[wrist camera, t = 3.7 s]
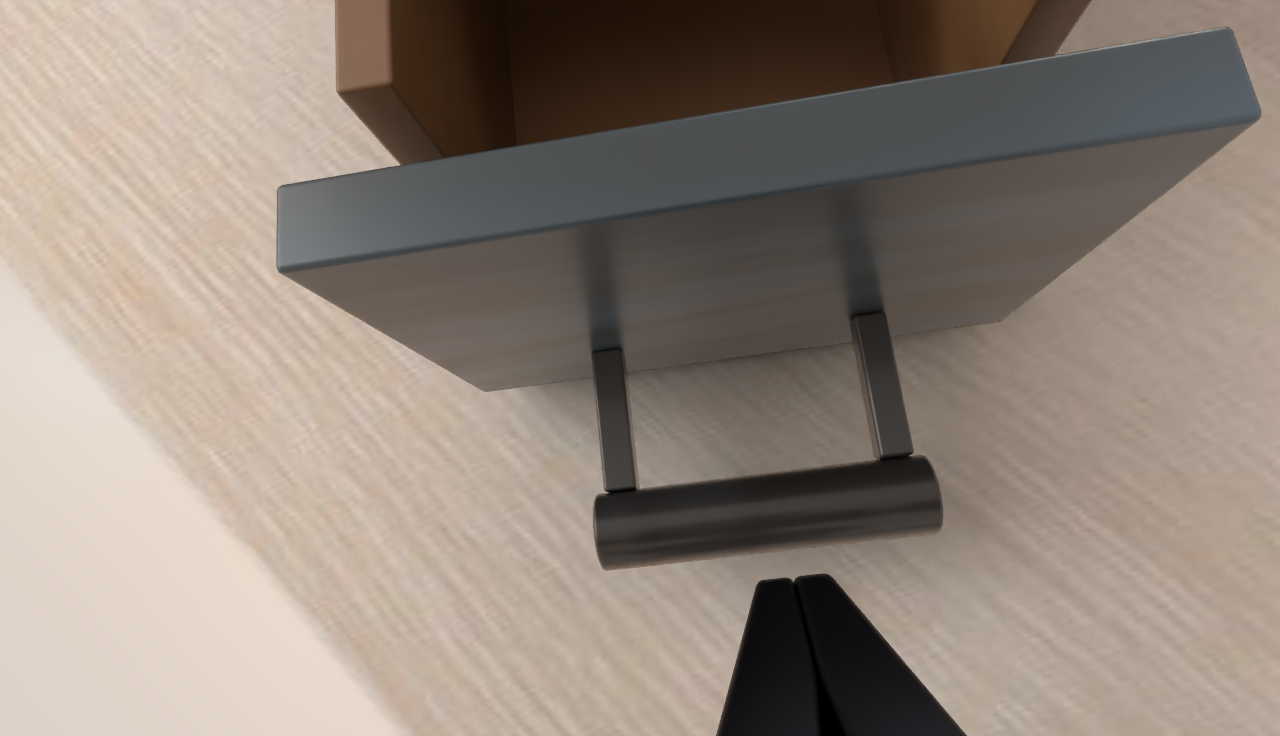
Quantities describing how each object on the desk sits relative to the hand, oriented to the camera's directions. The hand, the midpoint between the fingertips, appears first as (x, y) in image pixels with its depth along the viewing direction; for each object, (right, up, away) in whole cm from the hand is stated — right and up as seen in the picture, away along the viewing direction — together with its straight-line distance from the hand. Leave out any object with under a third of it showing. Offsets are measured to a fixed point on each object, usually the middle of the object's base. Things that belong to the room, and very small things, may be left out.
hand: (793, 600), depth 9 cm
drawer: (0, +7, +8) cm, 11 cm away
